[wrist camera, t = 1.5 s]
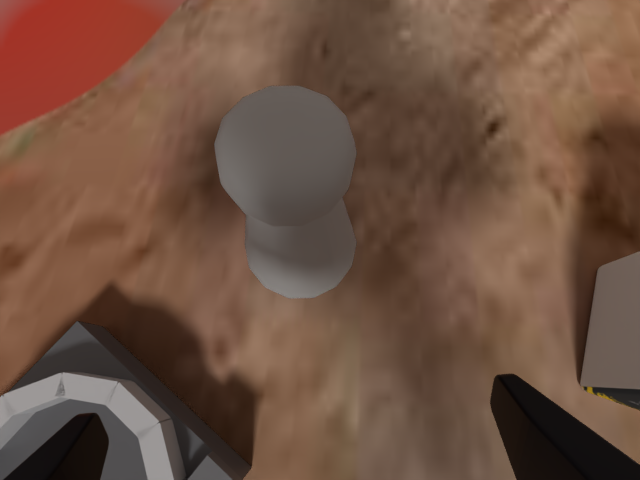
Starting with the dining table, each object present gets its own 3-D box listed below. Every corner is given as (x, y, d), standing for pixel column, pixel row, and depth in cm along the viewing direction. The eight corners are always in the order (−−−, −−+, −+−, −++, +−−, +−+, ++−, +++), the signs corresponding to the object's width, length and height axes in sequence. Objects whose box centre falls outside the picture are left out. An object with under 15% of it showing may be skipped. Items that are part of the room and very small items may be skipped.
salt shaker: (266, 201, 25) (214, 33, 13) (360, 219, 25) (399, 65, 12) (241, 295, 23) (151, 206, 11) (341, 316, 23) (365, 249, 11)
